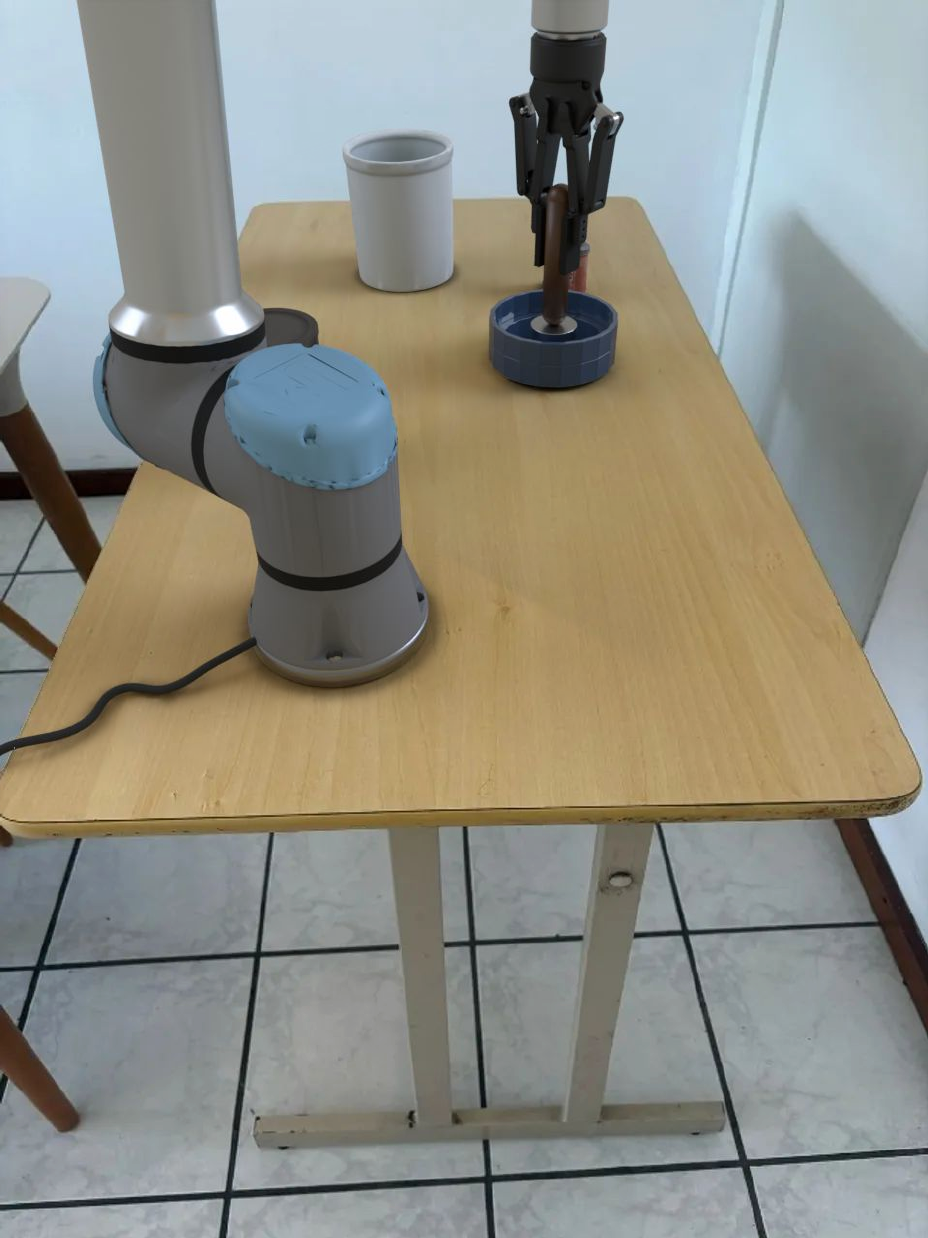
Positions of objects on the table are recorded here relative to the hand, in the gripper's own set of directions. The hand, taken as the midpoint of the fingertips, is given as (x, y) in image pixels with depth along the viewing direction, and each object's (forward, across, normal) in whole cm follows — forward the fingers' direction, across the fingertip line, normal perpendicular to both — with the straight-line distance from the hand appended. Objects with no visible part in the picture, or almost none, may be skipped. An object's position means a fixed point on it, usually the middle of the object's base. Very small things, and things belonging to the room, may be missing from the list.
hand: (556, 266), depth 110 cm
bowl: (+12, 0, 0) cm, 12 cm away
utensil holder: (+12, +33, -8) cm, 36 cm away
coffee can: (+12, +9, +35) cm, 38 cm away
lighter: (+12, +11, -17) cm, 23 cm away
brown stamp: (+9, 0, 0) cm, 9 cm away
